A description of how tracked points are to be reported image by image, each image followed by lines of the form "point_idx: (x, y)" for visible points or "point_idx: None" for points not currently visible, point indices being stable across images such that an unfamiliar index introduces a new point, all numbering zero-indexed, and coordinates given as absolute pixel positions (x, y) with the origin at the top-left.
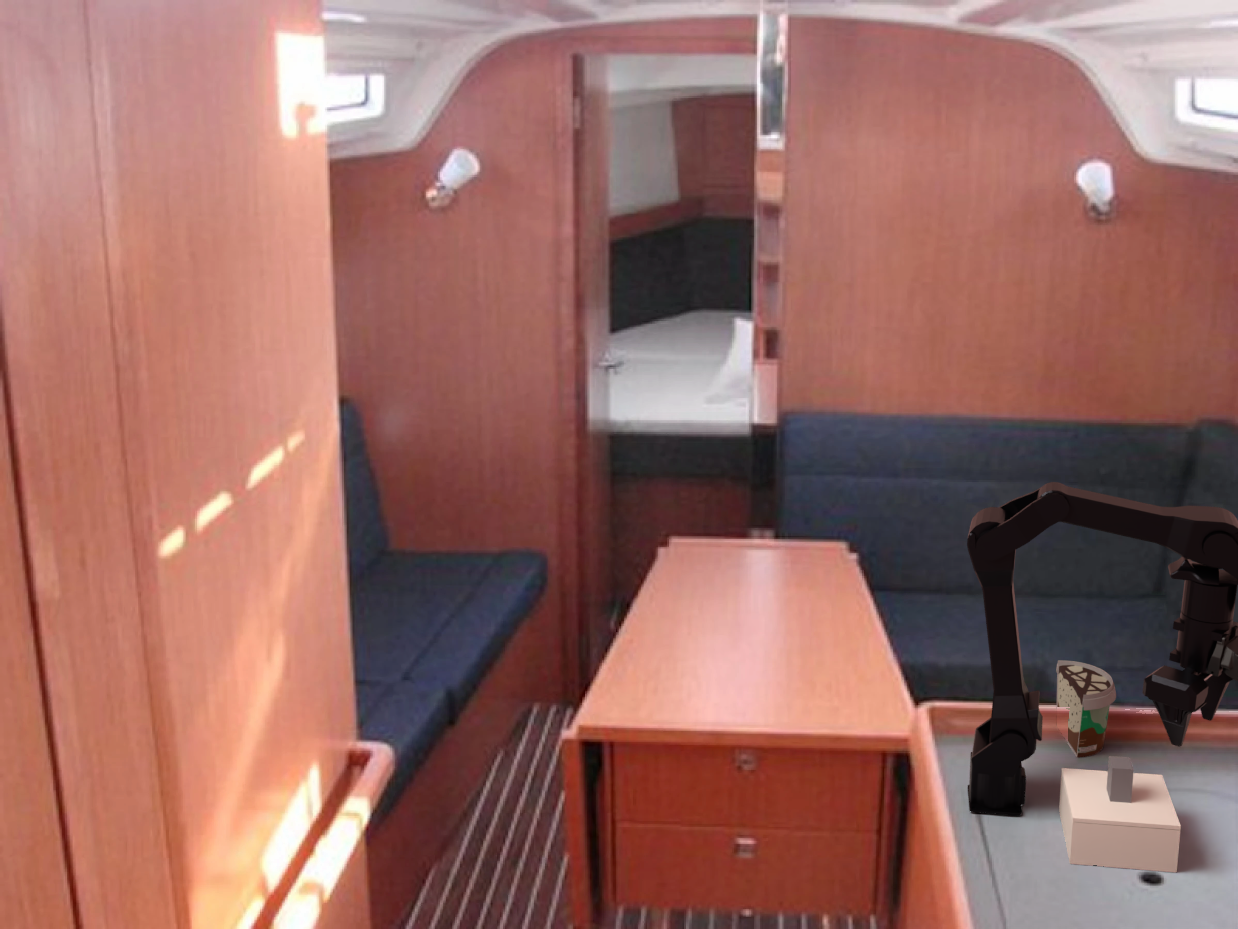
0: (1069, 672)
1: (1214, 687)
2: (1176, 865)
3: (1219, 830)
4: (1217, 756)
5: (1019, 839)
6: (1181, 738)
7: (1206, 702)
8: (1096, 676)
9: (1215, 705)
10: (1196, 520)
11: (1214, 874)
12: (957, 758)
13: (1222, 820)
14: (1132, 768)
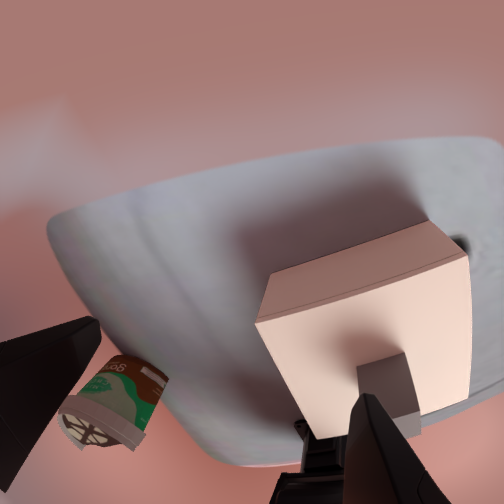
0: (86, 440)
1: (9, 396)
2: (433, 225)
3: (252, 175)
4: (55, 229)
5: None
6: (392, 423)
7: (62, 373)
8: (68, 418)
9: (55, 347)
10: None
11: (408, 162)
12: (252, 457)
13: (214, 178)
14: (414, 413)
